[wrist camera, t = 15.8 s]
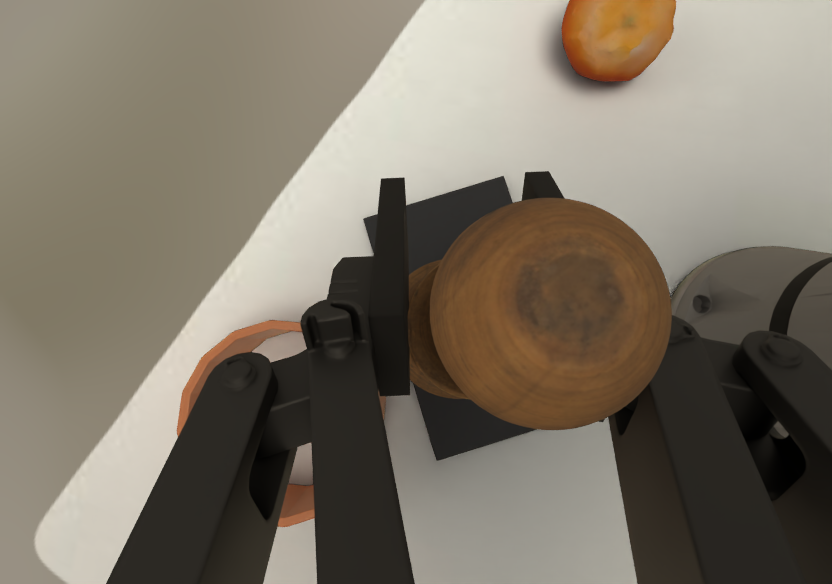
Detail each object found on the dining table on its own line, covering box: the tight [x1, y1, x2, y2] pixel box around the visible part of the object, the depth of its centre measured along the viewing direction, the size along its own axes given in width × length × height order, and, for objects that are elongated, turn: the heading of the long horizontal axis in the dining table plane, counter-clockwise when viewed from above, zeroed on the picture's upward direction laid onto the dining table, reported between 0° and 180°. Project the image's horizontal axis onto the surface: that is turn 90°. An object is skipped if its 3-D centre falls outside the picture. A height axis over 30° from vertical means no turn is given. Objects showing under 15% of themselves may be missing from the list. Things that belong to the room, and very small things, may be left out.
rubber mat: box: [363, 176, 536, 461], centre depth 35 cm, size 12×20×1 cm, turn 17°
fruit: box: [562, 0, 676, 81], centre depth 35 cm, size 8×8×8 cm
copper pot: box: [177, 320, 386, 527], centre depth 32 cm, size 13×13×6 cm
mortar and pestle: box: [408, 198, 672, 430], centre depth 13 cm, size 7×6×18 cm
